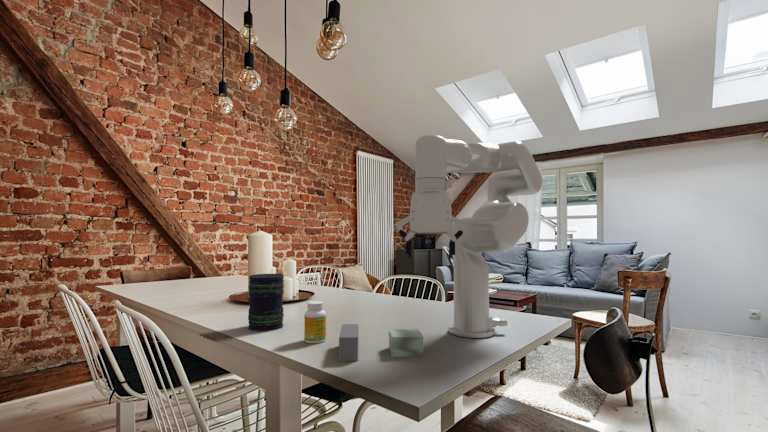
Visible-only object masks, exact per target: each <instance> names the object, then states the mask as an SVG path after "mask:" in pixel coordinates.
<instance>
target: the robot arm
mask: <svg viewBox="0 0 768 432" xmlns="http://www.w3.org/2000/svg"><path fill="white" fill-rule="evenodd" d="M414 153H415V156H414V157H415V163H414V165H415V167H414V168H415V169H414V171H415V172H414V173H415V175H414V177H415V178H414V179H415V180H414V185H415V186H414V188H415V190H414V192H412V195H411V201H410V207H409V209H410V210H409V215H408V216H406V217H404V218H402V219H400V220H399V221H397V222H395V223H394V226H395V228H396V231H398V232H397V233H398V234H399V235H400V236H401V238H403V239H404V241H405V254H406V255H408V258H409V259H412V257H413V251H414V250H413V247H414V246H413V244H414V242H413V241H412V238H414V236H415V235H416V234H433V235H434V234H436V235H437V234H441V235H442V234H444V235H446V236H447V237H448V238H449V242H448V258H449V259H451V260H452V261H453V324H450V325H449V326H448V328H447V329H448V332H449V334H452V335H453V336H457V337H461V338H471V339H485V338H490V337H493V336H494V335H496V329H495V328H496V327H507V326H508V321H507V319H506V318H499V317H492V316H491V315H490V283H489V281H490V273H489V265H488V263H487V261H486V259H485V258H484V256H483V254H482V253H486V254H491V253H492V254H502V253H507V252H510V250H511V249H512V248H514V246H515V245H516V244H517V243H518V242H519V241H520V240H521V238H522V237H523V236H524V234H525V233H527V232H526V231H527V229H528V226H529V217H530V216H529V213H528V212H529V211H528V210H527V208H526V206H525V205H523V204H522V203H521V202H517V201H516V202H514V201H513V202H512V200H511V199H510V198H509V197H514V196H516V197H517V196H528V195H535V194H537V193H539V192H540V190H541V189H542V187H543V176H542V173H541V171H540V168H539V166H538V164H537V162H536V161H535V159H534V158H535V157H533V154H532V153H531V151H530V149H529V148H528V147H527V145H525V143H524V142H522V141H519V140H515V141H510V142H509V141H508V142H503V143H484V142H469V143H466V142H465V141H462V140H461V139H460V140H459V139H448V138H444V137H443V136H441V135H434V134H428V135H426V134H425V135H422V136H419V137H418V138H417V140H416V141H415V152H414ZM453 173H454V174H456V173H457V174H472V173H473V174H475V173H492V175H490V177H489V178H488V180H487V200H486V201H485V202H484V203H483V204H482V205H480V206H479V207H478V208H477V209H476V210H475V211H474V212H473V214H472V217H463V218H457V217H455V216H454V215H452V202H451V201H452V200H451V194H450V192H448V191H447V190H448V189H452V188H453V182H451V181H448V180H447V174H453ZM408 223H409V225H408V226H409V230H410V231H409V232H408V233H407V232H406V231H405V230H404V228H403V226H404V225H406V224H408Z"/></svg>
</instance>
